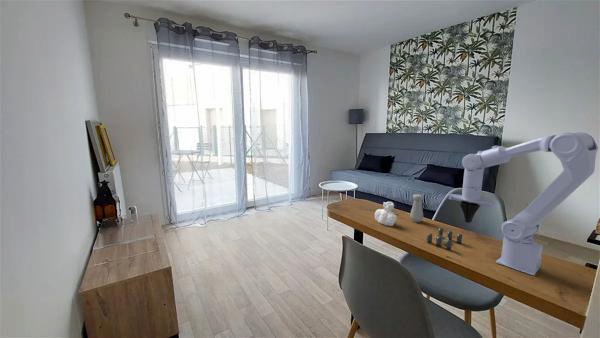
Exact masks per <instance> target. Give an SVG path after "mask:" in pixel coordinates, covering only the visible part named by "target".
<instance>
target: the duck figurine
mask: <svg viewBox="0 0 600 338" xmlns="http://www.w3.org/2000/svg"><path fill="white" fill-rule="evenodd" d="M382 207H383V208H379V209H376V210H375V212H374V220H375V221H377V223H379V224H381V225H384V226H388V227H389V226H390V227H393V226H394V224H395V223H396V221H397V220H398V217H397V215H396V214H395V213H394V212H393V211H392V210H394V208H395V203H394V202H392V201H387V202H385V201H383V204H382Z"/></svg>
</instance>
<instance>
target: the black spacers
mask: <svg viewBox="0 0 600 338" xmlns="http://www.w3.org/2000/svg"><path fill="white" fill-rule="evenodd" d="M443 234H444V228H443V227H439V228H438V233H437V235H442V236H444V235H443ZM446 237H448V239H449V240H447V244H446V246H445V249H446V251H449V252H450V251H452V243H453V231H452V230H448V231H447V236H446ZM426 240H427V241H426V243H427V244H432V243H433V234H432V233H429V232H428V233H427V238H426ZM462 241H463V233H457V237H456V243H457V244H459V245H462V243H463V242H462ZM441 242H442V237H439V236H437V243H436V242H435V243H436V245H435V246H436V247H439V248H441V247H442V245H441Z"/></svg>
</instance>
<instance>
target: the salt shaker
mask: <svg viewBox="0 0 600 338" xmlns="http://www.w3.org/2000/svg"><path fill="white" fill-rule="evenodd" d="M412 199H413V203H412V208H411V210H410V214H409V217H410V220H411V221H412V222H413V221H414V222H413V223H421V222H422V221H423V219H424V212H423V203H422V201H423V200H424V196H423V195H422V194H413V195H412Z"/></svg>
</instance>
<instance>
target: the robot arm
mask: <svg viewBox="0 0 600 338" xmlns="http://www.w3.org/2000/svg"><path fill="white" fill-rule="evenodd" d="M598 149H599V146H598V144H597V143H596V140H595V139H594V137H593V136H592V135H591V134H589V133H587V132H561V133H558V134H554V135H553V134H552V135H546V136H543V137H538V138H535V139H532V140H529V141H526V142H522V143H519V144H516V145H513V146H509V147H506V146H503V145H493V146H491V148H488V149H486V150H479V151H478V150H477V153H469V154H467V155H465V156H463V157H462V159H461V165H462V167H463V168H464V172H463V183H462V189H461V190H462V191H461V194H455V193H449V194H448V200H453V201H458V202H460V203H459V207H460V208H461V210H462V212H463V216H464V222H465V223H468V224H470V223H472V222H473V218H474V216H475V214H476V212H477V211H478V209H479V208H480V207H481V206H482V207H486V208H487V207H488V208H489V209H495V208H496V201H491V200H488V199H485V198H481V197H482V188H483V179H484V178H483V177H484V173H485V171H484V170H485V169H486V168H490V167H493V166H497V165H502V164H505V163H508V162H510V160H511V159H512V158H514V157H518V156H523V155H526V154H531V153H534V152H535V153H536V152H539V151H540V152H541V151H542V152H546V153H551V152H552V153H553V154H554V156H555V157H556V158H558V159H559V160H560V163H561V166H562V168H563V170H562V171H561V172H560V173H559V174H558V176H557V177H555V179H553V180H552V181H551V182H550V183H549V184H548V185H547V186H546V187H545V189H544V190H542V192H540V193H539V194H538V195H537V197H536V198H534V199H533V200H532V201H531V202H530V203H529V204H528V206H526V208H524V209H523V210H522V211H521V212H519V213H518V214H516V215H515V216H514V217H512V219H509V220H505V221H504V222H503V223H502V224H501V228H500V229H501V232H502V235H503V238H502V239H503V240H502V248H501V256H500V257H499V258H498V259H497V260H496V261H495V263H496V264H499V265H502V266H505V267H508V268H510V269H513V270H517V271H519V272H523V273H524V274H528V275H530V276H535V275H536V274H537V272H538V271H539V270H540V268H541V265H542V263H541V262H542V256H543V255H542V254H543V250H544V249H543V246H544V245H543V244H540V243H538V242H535V240H534V235H536V234H537V233H538V232H539V229H540V226H541V225H542V223H543V222H544V219H546V217H547V216H549V215H550V214H551V213H552V212H553V211H554V210H555V209H557V207H559V206H560V204H562V203H563V202H564V201H565V200H566V199H568V197H570V196H571V194H573V193H574V192H575V191H577V189H578V188H579V187H580V186H581V185H582V184H584V183H585V182H586V181H587V180H588V179H589V178H591V176H592V175H593V174H594V173H595V170H596V169H595V168H596V156H597V153H598Z"/></svg>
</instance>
